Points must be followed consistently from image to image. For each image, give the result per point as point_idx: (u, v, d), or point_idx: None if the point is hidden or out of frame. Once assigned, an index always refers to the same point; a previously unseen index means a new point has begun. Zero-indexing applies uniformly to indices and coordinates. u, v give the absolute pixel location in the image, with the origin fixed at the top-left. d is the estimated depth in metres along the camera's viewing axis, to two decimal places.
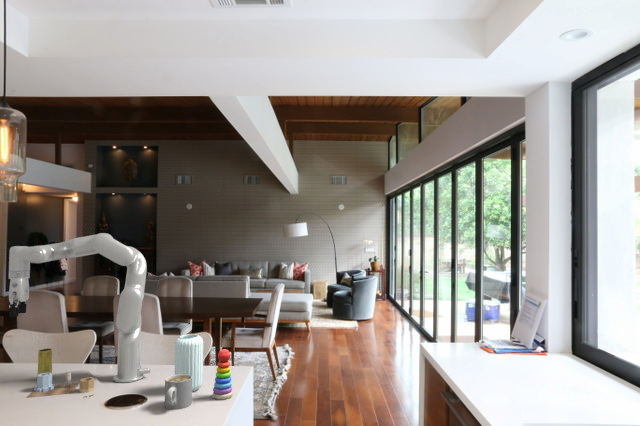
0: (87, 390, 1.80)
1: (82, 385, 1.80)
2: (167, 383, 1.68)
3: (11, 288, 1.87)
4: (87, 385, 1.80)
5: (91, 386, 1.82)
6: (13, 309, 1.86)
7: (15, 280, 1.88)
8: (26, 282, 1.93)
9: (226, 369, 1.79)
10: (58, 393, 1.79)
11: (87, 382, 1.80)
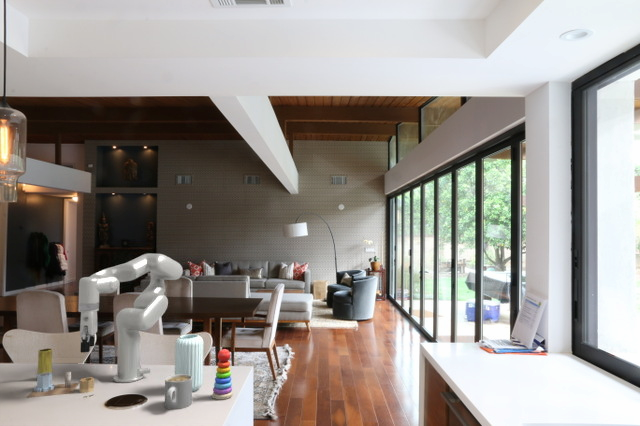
0: (87, 390, 1.80)
1: (82, 385, 1.80)
2: (167, 383, 1.68)
3: (82, 322, 1.79)
4: (87, 385, 1.80)
5: (91, 386, 1.82)
6: (85, 344, 1.78)
7: (86, 313, 1.80)
8: (96, 315, 1.85)
9: (226, 369, 1.79)
10: (58, 393, 1.79)
11: (87, 382, 1.80)
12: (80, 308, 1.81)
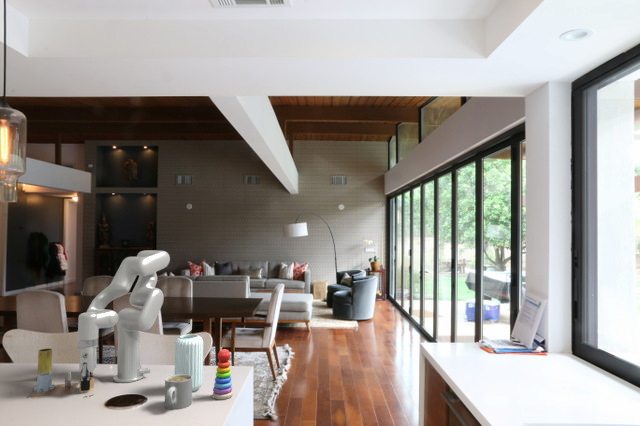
0: (87, 390, 1.80)
1: None
2: (167, 383, 1.68)
3: (81, 359, 1.78)
4: None
5: (91, 386, 1.82)
6: (85, 382, 1.79)
7: (85, 350, 1.79)
8: (95, 350, 1.84)
9: (226, 369, 1.79)
10: (58, 393, 1.79)
11: None
12: (79, 344, 1.80)
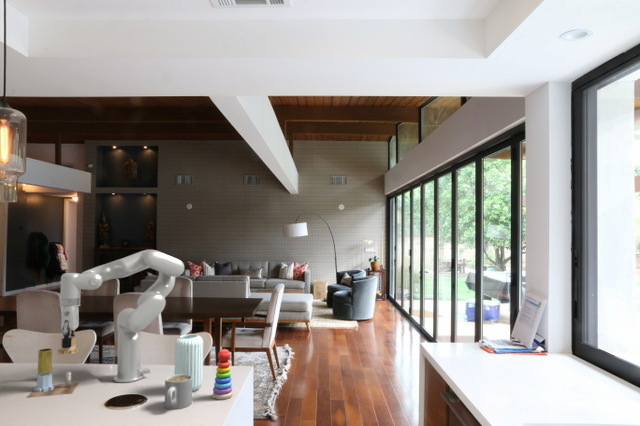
0: (68, 348, 1.85)
1: None
2: (167, 383, 1.68)
3: (63, 317, 1.83)
4: None
5: (72, 344, 1.87)
6: (66, 340, 1.84)
7: (67, 308, 1.84)
8: (77, 310, 1.89)
9: (226, 369, 1.79)
10: (58, 393, 1.79)
11: None
12: (61, 303, 1.85)
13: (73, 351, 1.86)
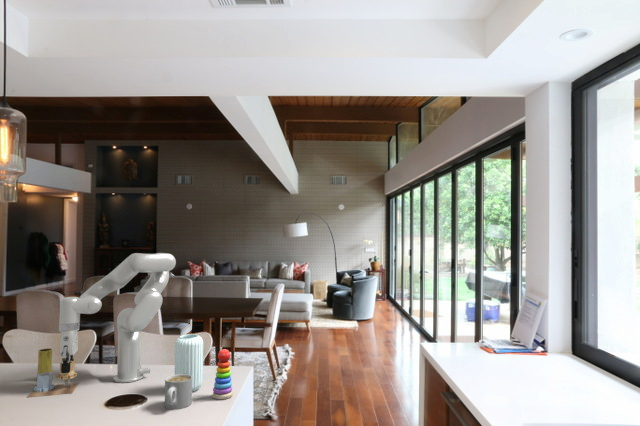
0: (67, 373, 1.85)
1: None
2: (167, 383, 1.68)
3: (62, 342, 1.83)
4: None
5: (71, 369, 1.86)
6: (65, 365, 1.83)
7: (66, 333, 1.84)
8: (76, 334, 1.89)
9: (226, 369, 1.79)
10: (58, 393, 1.79)
11: None
12: (60, 328, 1.85)
13: (72, 376, 1.85)
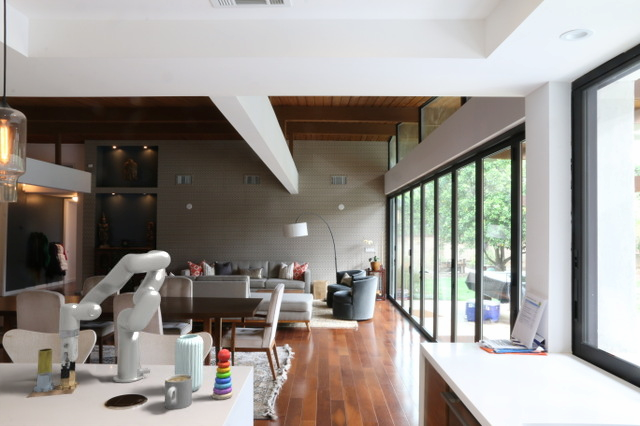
0: (68, 383, 1.85)
1: None
2: (167, 383, 1.68)
3: (62, 349, 1.83)
4: (68, 378, 1.85)
5: (72, 379, 1.86)
6: (65, 370, 1.82)
7: (66, 340, 1.84)
8: (76, 340, 1.89)
9: (226, 369, 1.79)
10: (58, 393, 1.79)
11: None
12: (60, 335, 1.85)
13: (73, 386, 1.85)
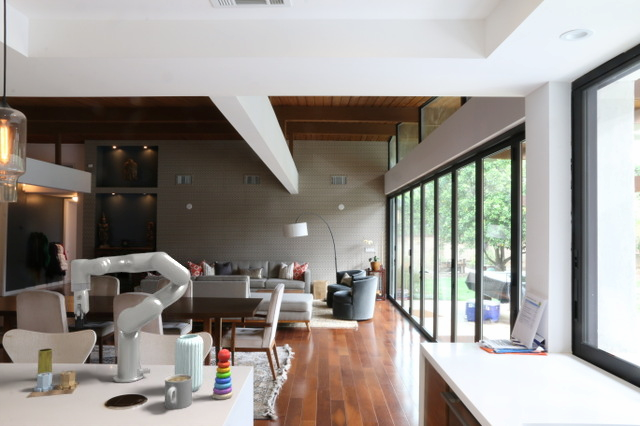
0: (68, 383, 1.85)
1: (63, 378, 1.84)
2: (167, 383, 1.68)
3: (76, 300, 1.93)
4: (68, 378, 1.85)
5: (72, 379, 1.86)
6: (79, 321, 1.92)
7: (79, 292, 1.94)
8: (87, 294, 1.99)
9: (226, 369, 1.79)
10: (58, 393, 1.79)
11: (68, 375, 1.85)
12: (73, 288, 1.94)
13: (73, 386, 1.85)
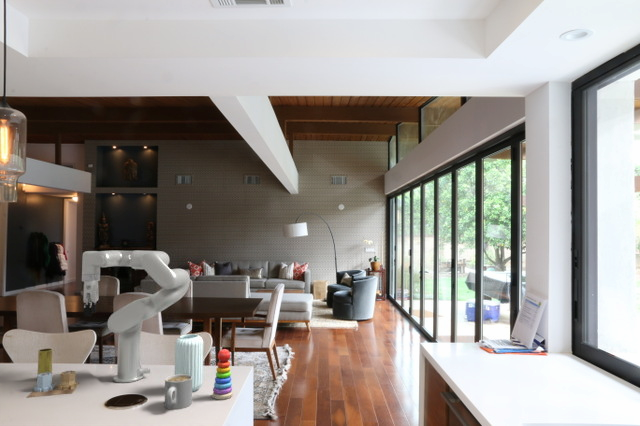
0: (68, 383, 1.85)
1: (63, 378, 1.84)
2: (167, 383, 1.68)
3: (85, 290, 2.02)
4: (68, 378, 1.85)
5: (72, 379, 1.86)
6: (88, 309, 2.01)
7: (89, 282, 2.03)
8: (97, 284, 2.08)
9: (226, 369, 1.79)
10: (58, 393, 1.79)
11: (68, 375, 1.85)
12: (83, 278, 2.04)
13: (73, 386, 1.85)
